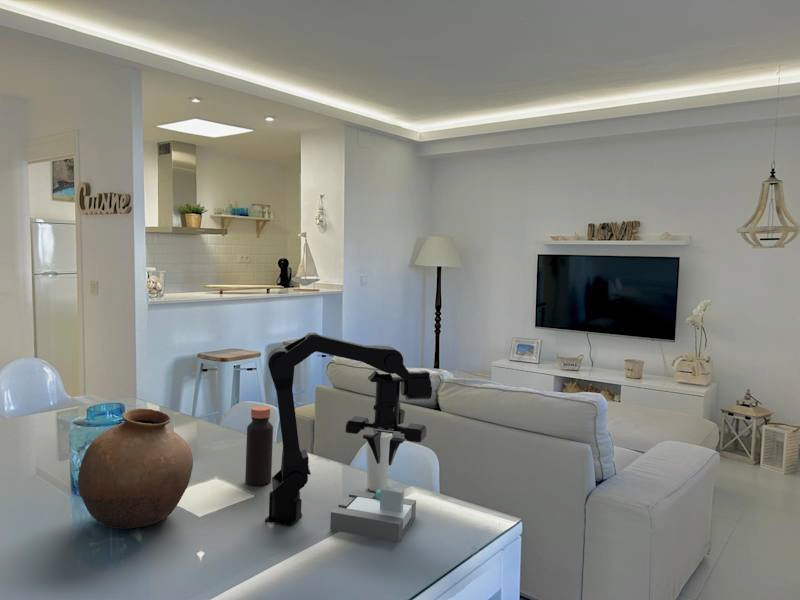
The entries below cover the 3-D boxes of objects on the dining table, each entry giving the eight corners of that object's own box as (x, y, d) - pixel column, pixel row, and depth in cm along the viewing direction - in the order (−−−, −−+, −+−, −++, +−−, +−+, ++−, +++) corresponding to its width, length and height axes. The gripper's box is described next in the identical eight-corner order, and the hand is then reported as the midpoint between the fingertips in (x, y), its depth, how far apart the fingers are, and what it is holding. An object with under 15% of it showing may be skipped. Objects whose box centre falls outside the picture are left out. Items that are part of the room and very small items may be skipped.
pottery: (82, 508, 137) (84, 402, 136) (188, 497, 146) (190, 397, 145) (71, 554, 116) (73, 429, 115) (195, 537, 125) (198, 421, 124)
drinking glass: (386, 495, 153) (389, 438, 153) (361, 491, 155) (364, 435, 154) (392, 485, 160) (394, 431, 159) (368, 482, 161) (370, 428, 161)
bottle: (256, 488, 154) (258, 412, 153) (239, 481, 158) (242, 407, 157) (276, 481, 159) (279, 408, 158) (260, 475, 163) (262, 403, 162)
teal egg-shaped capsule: (373, 504, 141) (373, 492, 141) (378, 499, 144) (378, 488, 144) (387, 506, 140) (387, 495, 140) (391, 501, 143) (391, 490, 143)
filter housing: (330, 529, 132) (330, 512, 132) (352, 505, 146) (353, 490, 145) (398, 542, 128) (399, 524, 127) (415, 516, 141) (416, 500, 141)
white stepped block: (345, 519, 134) (347, 488, 134) (357, 507, 142) (358, 478, 141) (402, 530, 131) (404, 498, 130) (411, 516, 138) (413, 486, 137)
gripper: (433, 397, 146) (430, 459, 147) (362, 389, 151) (359, 449, 152) (422, 407, 135) (418, 473, 136) (345, 398, 140) (343, 462, 141)
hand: (384, 464), depth 141 cm, fingers open, 3 cm apart
